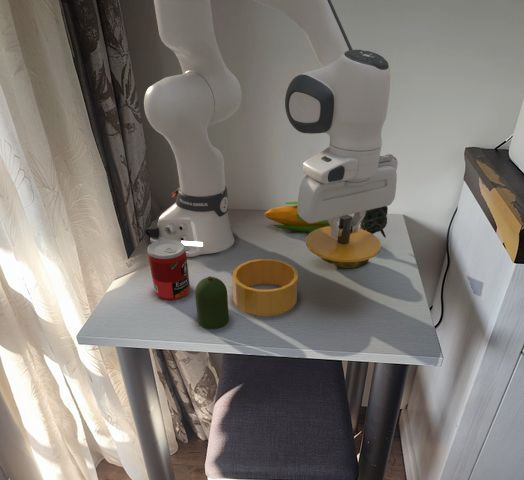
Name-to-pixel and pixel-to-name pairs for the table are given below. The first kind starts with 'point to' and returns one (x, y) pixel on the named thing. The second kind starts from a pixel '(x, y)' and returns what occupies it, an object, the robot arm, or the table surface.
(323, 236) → the lid
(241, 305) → the pot
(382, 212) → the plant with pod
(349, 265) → the potato
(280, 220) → the corn
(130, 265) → the table surface
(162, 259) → the canned food
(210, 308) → the avocado
